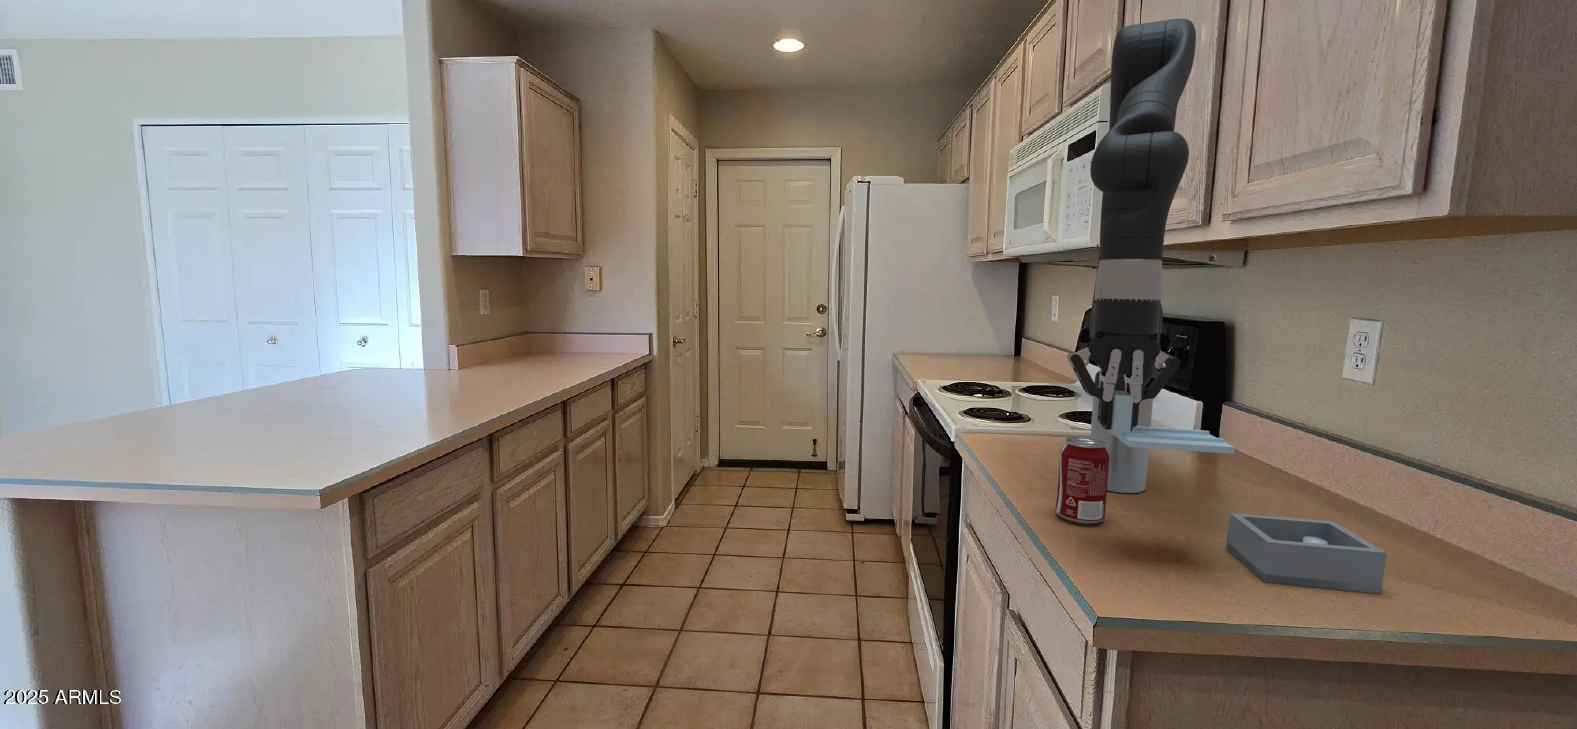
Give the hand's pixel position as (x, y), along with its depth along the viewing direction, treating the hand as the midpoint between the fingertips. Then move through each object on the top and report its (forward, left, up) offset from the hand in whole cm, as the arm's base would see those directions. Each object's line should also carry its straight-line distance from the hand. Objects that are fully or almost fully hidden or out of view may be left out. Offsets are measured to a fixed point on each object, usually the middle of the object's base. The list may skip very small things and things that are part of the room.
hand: (1116, 428), depth 84 cm
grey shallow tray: (+1, +22, -16) cm, 27 cm away
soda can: (-11, -1, -17) cm, 20 cm away
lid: (0, +6, -1) cm, 6 cm away
